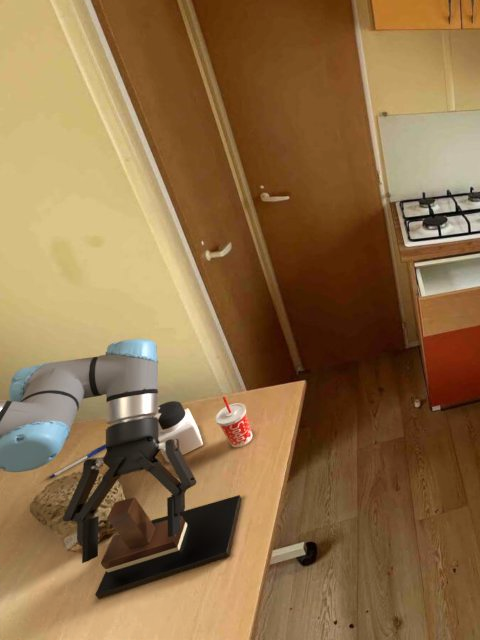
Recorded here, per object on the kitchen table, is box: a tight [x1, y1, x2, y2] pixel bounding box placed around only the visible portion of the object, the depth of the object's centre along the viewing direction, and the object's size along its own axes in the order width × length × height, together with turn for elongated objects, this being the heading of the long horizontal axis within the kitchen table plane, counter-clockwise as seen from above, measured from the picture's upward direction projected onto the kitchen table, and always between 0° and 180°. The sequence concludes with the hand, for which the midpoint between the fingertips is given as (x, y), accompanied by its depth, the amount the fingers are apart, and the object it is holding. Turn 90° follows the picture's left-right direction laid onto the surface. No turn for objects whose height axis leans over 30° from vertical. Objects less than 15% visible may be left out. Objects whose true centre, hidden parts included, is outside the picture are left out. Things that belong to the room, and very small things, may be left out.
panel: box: [94, 494, 243, 600], centre depth 81 cm, size 20×12×2 cm, turn 110°
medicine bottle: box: [154, 400, 204, 463], centre depth 98 cm, size 7×7×12 cm
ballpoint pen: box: [49, 443, 106, 479], centre depth 97 cm, size 10×1×1 cm, turn 147°
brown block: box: [100, 496, 187, 572], centre depth 77 cm, size 11×5×12 cm, turn 110°
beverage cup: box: [214, 396, 253, 448], centre depth 99 cm, size 6×6×14 cm
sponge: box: [29, 471, 126, 553], centre depth 85 cm, size 13×8×20 cm
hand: (133, 546), depth 75 cm, fingers open, 12 cm apart
